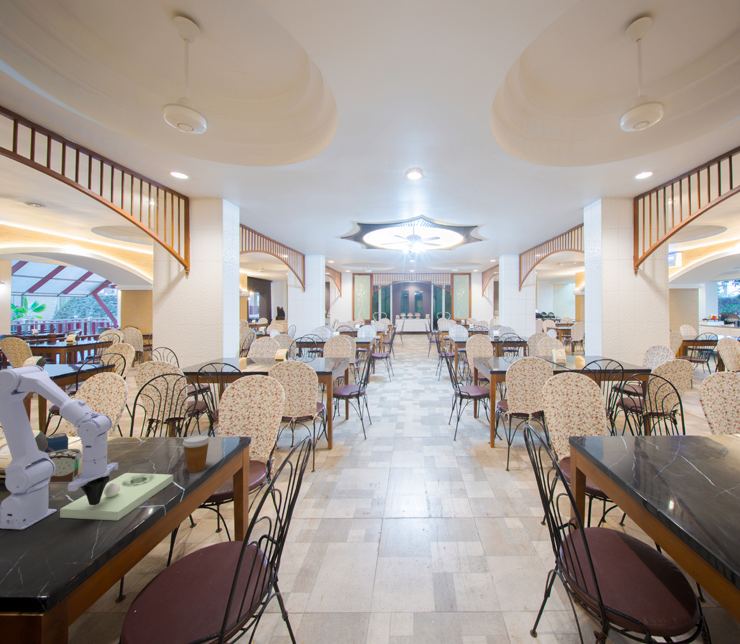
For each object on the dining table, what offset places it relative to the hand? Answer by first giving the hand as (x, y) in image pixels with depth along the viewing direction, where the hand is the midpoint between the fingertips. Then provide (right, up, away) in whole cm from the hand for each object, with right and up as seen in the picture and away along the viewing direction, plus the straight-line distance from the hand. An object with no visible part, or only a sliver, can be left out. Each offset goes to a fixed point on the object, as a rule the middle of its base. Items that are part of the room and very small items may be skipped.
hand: (94, 503), depth 100 cm
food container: (-29, -4, +24) cm, 38 cm away
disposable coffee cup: (+14, -4, +32) cm, 35 cm away
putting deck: (+1, -4, +10) cm, 11 cm away
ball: (+1, +1, +6) cm, 6 cm away
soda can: (-43, -4, +35) cm, 56 cm away
